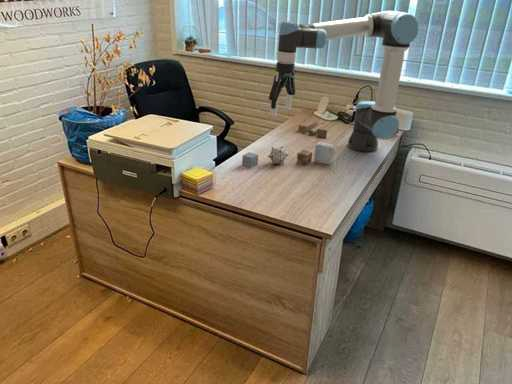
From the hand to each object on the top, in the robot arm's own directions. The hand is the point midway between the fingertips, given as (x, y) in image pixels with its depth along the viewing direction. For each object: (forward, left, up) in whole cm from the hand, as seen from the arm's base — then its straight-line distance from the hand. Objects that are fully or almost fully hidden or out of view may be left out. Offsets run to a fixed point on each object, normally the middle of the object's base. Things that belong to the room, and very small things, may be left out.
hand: (280, 112), depth 187 cm
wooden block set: (+6, -53, -25) cm, 58 cm away
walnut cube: (-9, -9, -24) cm, 27 cm away
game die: (0, 0, -24) cm, 24 cm away
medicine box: (-16, -15, -24) cm, 32 cm away
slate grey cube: (+9, +9, -24) cm, 27 cm away
